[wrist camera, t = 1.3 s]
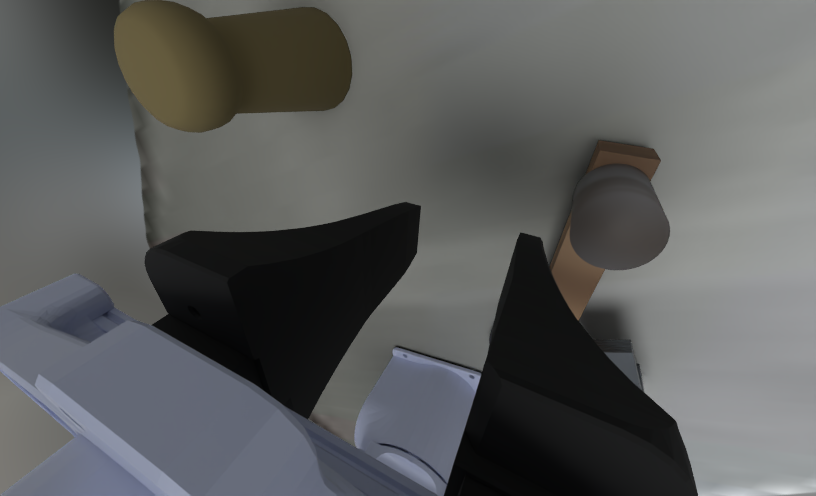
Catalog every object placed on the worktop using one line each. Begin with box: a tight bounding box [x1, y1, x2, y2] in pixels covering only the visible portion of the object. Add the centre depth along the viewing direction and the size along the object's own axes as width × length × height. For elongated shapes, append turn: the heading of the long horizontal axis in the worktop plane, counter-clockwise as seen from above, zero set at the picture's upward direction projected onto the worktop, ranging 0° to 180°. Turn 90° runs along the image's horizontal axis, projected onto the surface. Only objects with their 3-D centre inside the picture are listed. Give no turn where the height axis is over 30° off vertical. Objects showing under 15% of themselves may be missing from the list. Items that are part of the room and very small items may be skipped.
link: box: [550, 140, 670, 321], centre depth 18 cm, size 18×4×6 cm, turn 176°
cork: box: [114, 0, 352, 132], centre depth 17 cm, size 6×6×11 cm
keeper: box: [594, 340, 644, 392], centre depth 21 cm, size 3×6×4 cm, turn 26°
